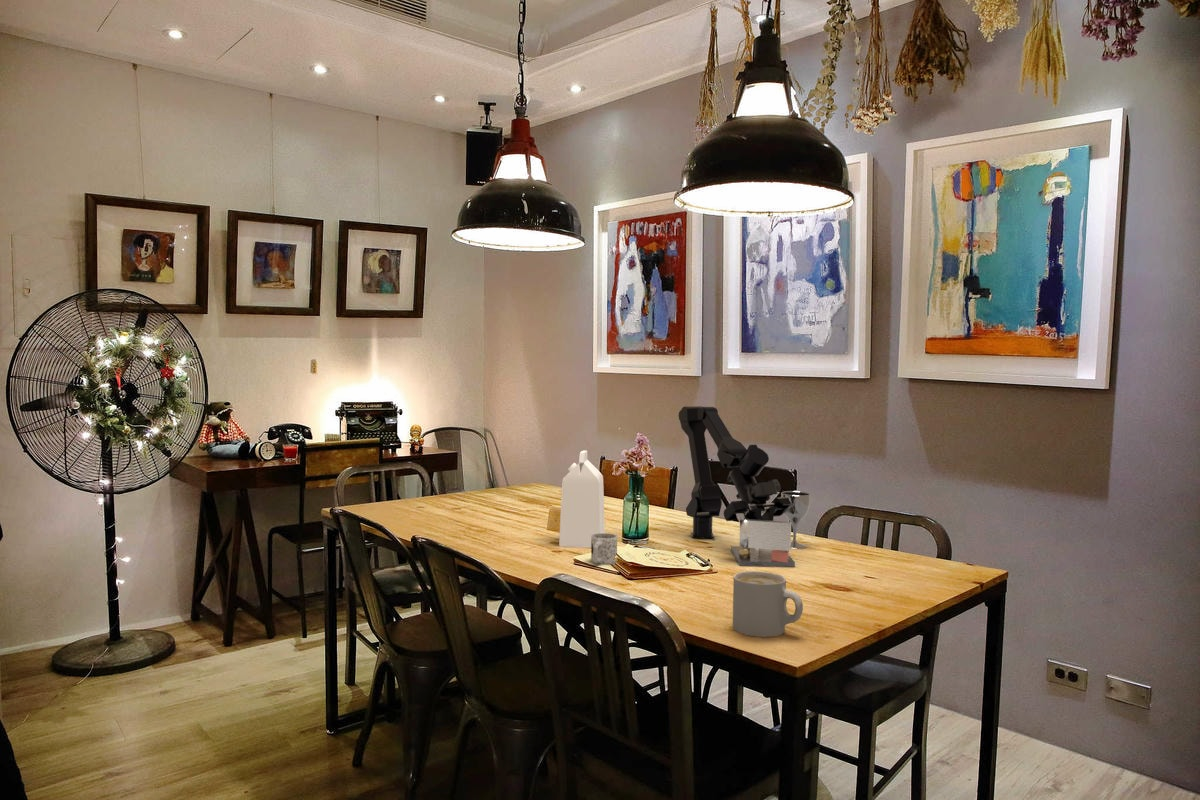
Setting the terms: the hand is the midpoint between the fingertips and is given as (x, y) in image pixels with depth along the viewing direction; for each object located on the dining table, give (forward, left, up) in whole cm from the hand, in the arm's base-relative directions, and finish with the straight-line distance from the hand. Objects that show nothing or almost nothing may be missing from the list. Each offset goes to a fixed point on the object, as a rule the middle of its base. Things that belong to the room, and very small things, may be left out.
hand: (770, 536), depth 212 cm
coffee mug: (+55, -11, -7) cm, 57 cm away
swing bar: (+2, -2, -3) cm, 4 cm away
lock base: (-4, -2, -7) cm, 8 cm away
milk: (-19, -50, -7) cm, 54 cm away
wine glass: (-20, +10, -7) cm, 23 cm away
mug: (+4, -44, -7) cm, 44 cm away
